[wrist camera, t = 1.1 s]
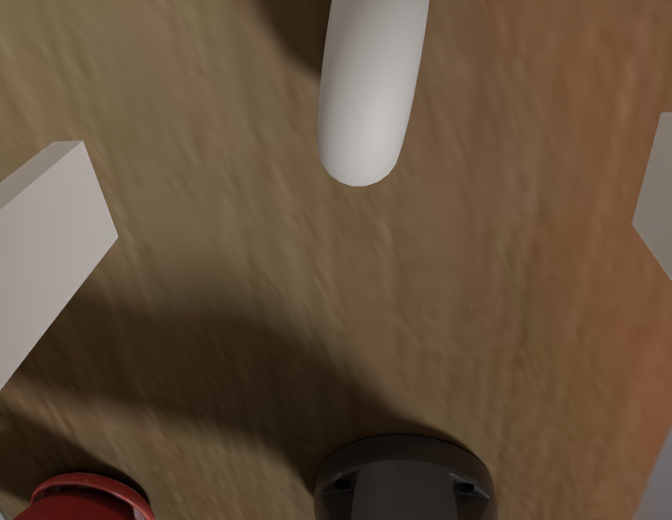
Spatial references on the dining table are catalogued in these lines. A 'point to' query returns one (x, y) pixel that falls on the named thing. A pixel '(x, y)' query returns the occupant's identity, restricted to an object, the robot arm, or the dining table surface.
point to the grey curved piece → (368, 85)
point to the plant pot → (85, 500)
